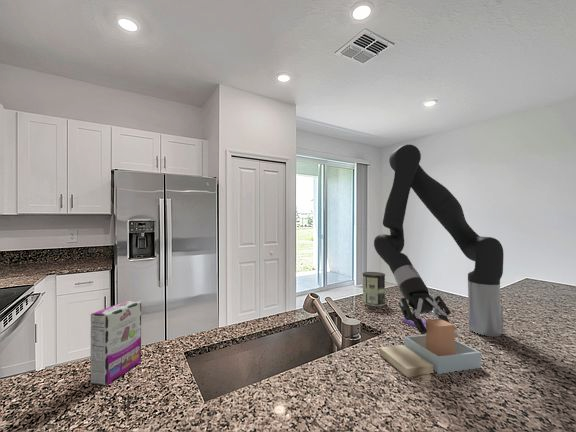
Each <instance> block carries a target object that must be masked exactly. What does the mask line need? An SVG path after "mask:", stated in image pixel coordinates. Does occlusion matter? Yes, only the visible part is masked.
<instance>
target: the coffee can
mask: <svg viewBox="0 0 576 432" xmlns="http://www.w3.org/2000/svg"><path fill="white" fill-rule="evenodd" d="M385 276H386V274H385V273H384V272H378V271H364V272H362V302H363V303H362V304H363V305H366V306H371V307H384V306H386V277H385Z"/></svg>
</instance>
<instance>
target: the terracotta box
mask: <svg viewBox="0 0 576 432" xmlns="http://www.w3.org/2000/svg"><path fill="white" fill-rule="evenodd" d="M425 320H426V330H427V332H426V333H425V334H426V349H427V350H429V351H430V352H432V353H434V354H435V355H437V356H447V355H454V354H455V340H456V337H455V336H456V335H455V334H456V333H455V331H456V327H455V324H454V323H451V322H450V323H449V322H447V321H444V320H442V319H439V318H436V319H435V318H433V319H425Z"/></svg>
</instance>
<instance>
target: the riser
mask: <svg viewBox="0 0 576 432" xmlns="http://www.w3.org/2000/svg"><path fill="white" fill-rule="evenodd" d="M379 355H380V356H381V357H382V358H383V359H385V361H387V362H388V363H389V364H391V366H393V367H394V368H395V369H397V370H398V372H400V373H401V374H402V375H404V376H405V377H406V378H411V377H418V375H419V376H425V374H426V375H431V374H430V373H433V374H434V371H433V365H432V364H431V363H429V362H428V361H426V360H425V359H423V358H422V357H420V356H419V355H417V354H416V353H414V352H413V351H411V350H410V349H408V348H407V347H405V346H404V344H399V345H397V344H396V345H388V346H381V347H379Z"/></svg>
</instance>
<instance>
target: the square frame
mask: <svg viewBox="0 0 576 432" xmlns="http://www.w3.org/2000/svg"><path fill="white" fill-rule="evenodd" d="M403 338H404V339H403V343H404V344H403V345H404V346H405V347H407V348H408V349H410V350H411V351H413V352H414V353H416V354H417V355H419V356H420V357H422V358H423V359H425V360H426V361H428V362H429V363H431V364H432V365H433V370H434V371H433V372H435V373H436V372H437V373H436V374H437V375H441V374H443V373H444V374H448V373H449V372H450V373H455V372H454V371H457V372H462V370H464V371H469V369H470V370H475V369H482V352H481V351H479V350H477V349H475V348H473V347H472V346H469V345H467V344H465V343H463V342H461V341H459V340H457V339H455V354H454V355H447V356H437V355H435V354H434V353H432V352H430V351H429V350H427V349H426V333H425V334H419V335H418V334H417V335H409V336H403Z"/></svg>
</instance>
